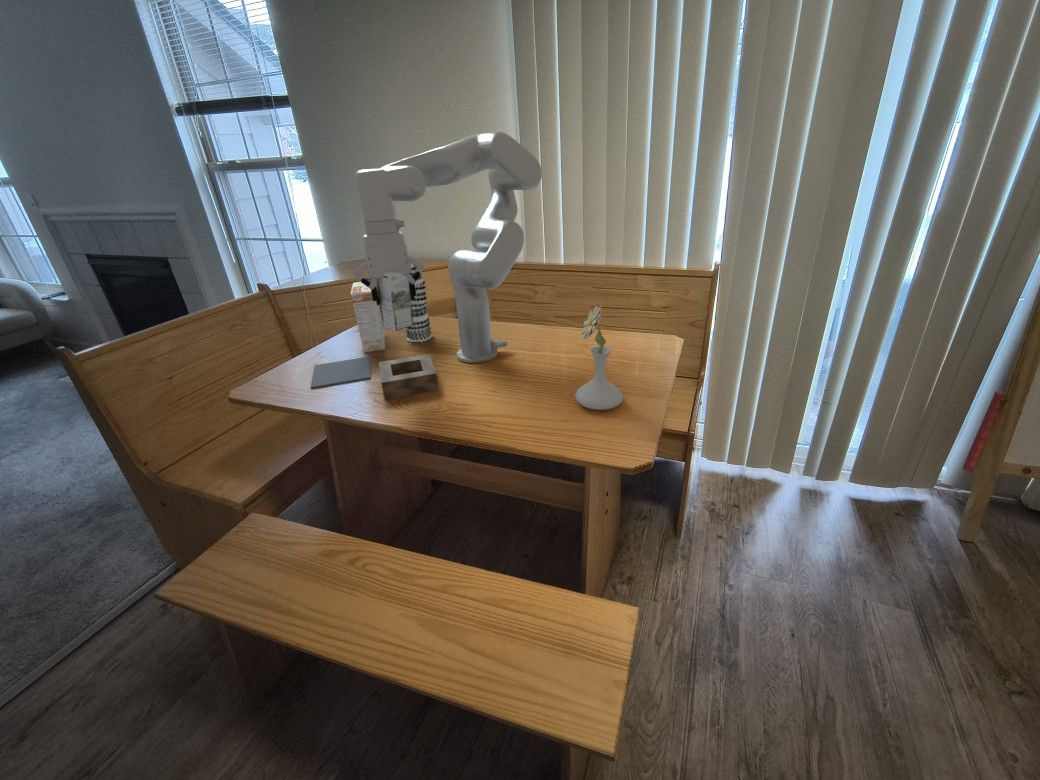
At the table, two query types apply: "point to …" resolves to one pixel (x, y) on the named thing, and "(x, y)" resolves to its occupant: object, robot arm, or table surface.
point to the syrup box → (395, 301)
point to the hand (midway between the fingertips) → (395, 301)
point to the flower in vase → (598, 371)
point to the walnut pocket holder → (408, 376)
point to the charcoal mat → (341, 372)
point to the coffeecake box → (367, 318)
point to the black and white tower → (419, 313)
